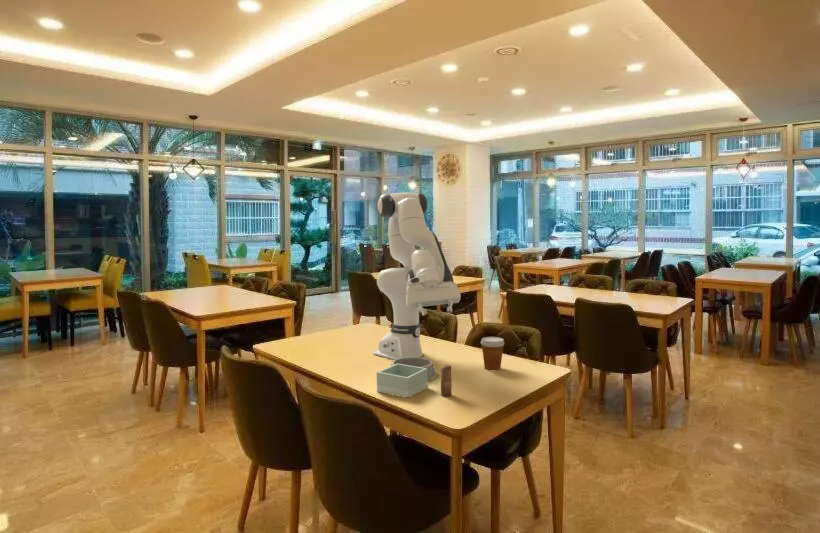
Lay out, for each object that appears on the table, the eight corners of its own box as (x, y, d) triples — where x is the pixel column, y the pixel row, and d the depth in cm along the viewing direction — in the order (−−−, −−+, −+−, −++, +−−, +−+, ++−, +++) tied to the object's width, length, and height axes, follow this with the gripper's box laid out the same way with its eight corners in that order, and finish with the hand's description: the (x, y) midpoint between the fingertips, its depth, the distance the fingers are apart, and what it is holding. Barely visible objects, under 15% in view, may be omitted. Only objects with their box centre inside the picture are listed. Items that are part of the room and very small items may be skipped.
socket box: (376, 391, 184) (376, 372, 184) (397, 381, 195) (397, 363, 195) (408, 398, 177) (407, 378, 177) (427, 387, 188) (427, 368, 188)
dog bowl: (408, 366, 217) (408, 353, 216) (444, 374, 205) (444, 360, 204) (380, 376, 203) (380, 362, 203) (417, 385, 192) (417, 371, 191)
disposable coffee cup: (486, 373, 205) (486, 342, 204) (476, 366, 214) (476, 337, 213) (508, 370, 208) (508, 341, 206) (498, 364, 217) (498, 335, 216)
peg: (439, 395, 180) (438, 367, 179) (444, 392, 183) (444, 364, 182) (448, 397, 178) (448, 368, 177) (453, 394, 181) (453, 366, 180)
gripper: (454, 286, 202) (463, 315, 193) (402, 291, 198) (409, 321, 189) (456, 275, 197) (466, 304, 188) (403, 280, 193) (411, 310, 184)
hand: (437, 313), depth 189 cm, fingers open, 8 cm apart
